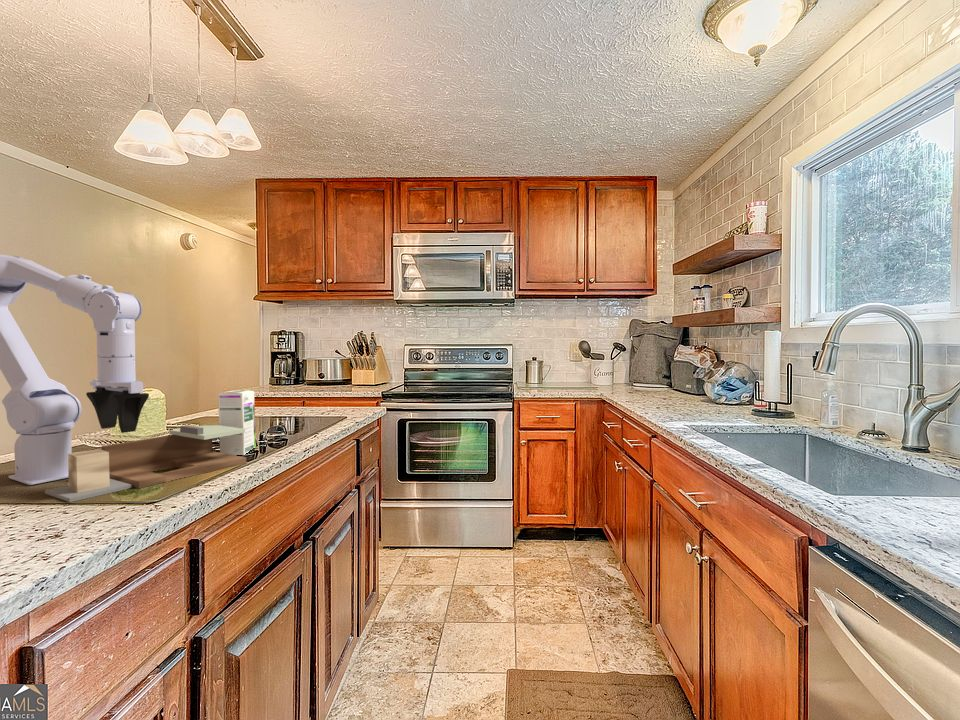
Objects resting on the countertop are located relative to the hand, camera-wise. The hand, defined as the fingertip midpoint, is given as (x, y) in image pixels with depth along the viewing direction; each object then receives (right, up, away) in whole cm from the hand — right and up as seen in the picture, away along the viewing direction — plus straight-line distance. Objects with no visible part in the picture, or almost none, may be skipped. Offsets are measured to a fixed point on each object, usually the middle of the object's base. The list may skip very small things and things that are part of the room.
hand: (118, 429), depth 92 cm
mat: (0, -10, -6) cm, 12 cm away
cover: (+10, -3, +13) cm, 16 cm away
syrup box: (+11, -9, +23) cm, 27 cm away
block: (0, -9, -6) cm, 11 cm away
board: (+7, -9, +7) cm, 14 cm away
